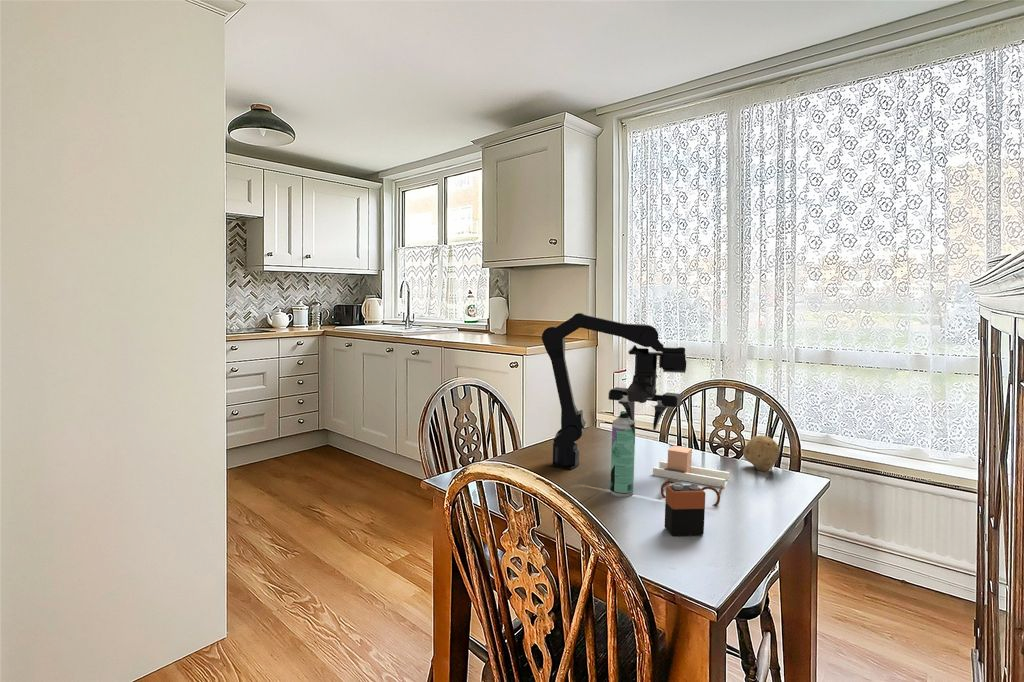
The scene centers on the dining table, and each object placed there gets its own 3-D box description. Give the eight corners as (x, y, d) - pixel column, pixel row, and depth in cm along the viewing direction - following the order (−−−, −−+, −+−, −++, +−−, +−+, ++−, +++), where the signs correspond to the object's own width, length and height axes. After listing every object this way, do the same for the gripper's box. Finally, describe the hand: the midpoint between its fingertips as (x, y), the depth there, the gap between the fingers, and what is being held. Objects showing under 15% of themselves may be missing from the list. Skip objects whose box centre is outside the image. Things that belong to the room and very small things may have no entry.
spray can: (634, 490, 135) (637, 410, 133) (631, 498, 130) (634, 415, 128) (612, 487, 137) (614, 408, 135) (608, 495, 131) (610, 413, 130)
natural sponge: (738, 471, 151) (740, 435, 150) (747, 463, 158) (748, 429, 157) (774, 478, 146) (776, 441, 145) (781, 470, 153) (783, 435, 152)
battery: (663, 527, 113) (665, 480, 113) (695, 527, 114) (697, 480, 113) (671, 537, 109) (673, 488, 108) (704, 536, 110) (706, 487, 109)
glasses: (659, 501, 129) (660, 480, 129) (668, 484, 141) (668, 465, 141) (719, 511, 124) (720, 489, 123) (722, 492, 136) (723, 472, 135)
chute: (652, 477, 145) (653, 466, 145) (659, 469, 151) (660, 459, 151) (724, 489, 136) (724, 478, 136) (729, 481, 142) (729, 471, 142)
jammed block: (667, 476, 144) (668, 450, 144) (671, 470, 149) (672, 445, 148) (686, 479, 142) (687, 453, 141) (690, 474, 146) (691, 448, 146)
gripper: (602, 371, 146) (600, 429, 147) (672, 378, 136) (670, 439, 138) (616, 367, 155) (614, 421, 157) (683, 373, 146) (680, 430, 147)
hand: (643, 428), depth 149 cm, fingers open, 6 cm apart
